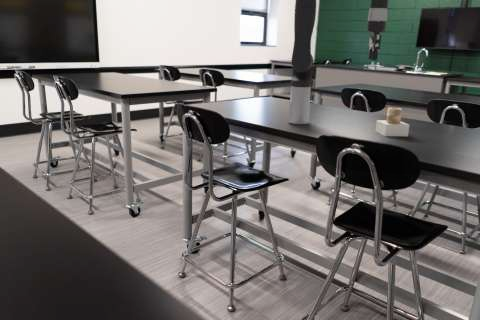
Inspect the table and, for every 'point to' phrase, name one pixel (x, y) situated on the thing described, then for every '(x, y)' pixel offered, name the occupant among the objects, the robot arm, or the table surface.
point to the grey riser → (392, 128)
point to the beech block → (394, 115)
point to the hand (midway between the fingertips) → (372, 59)
